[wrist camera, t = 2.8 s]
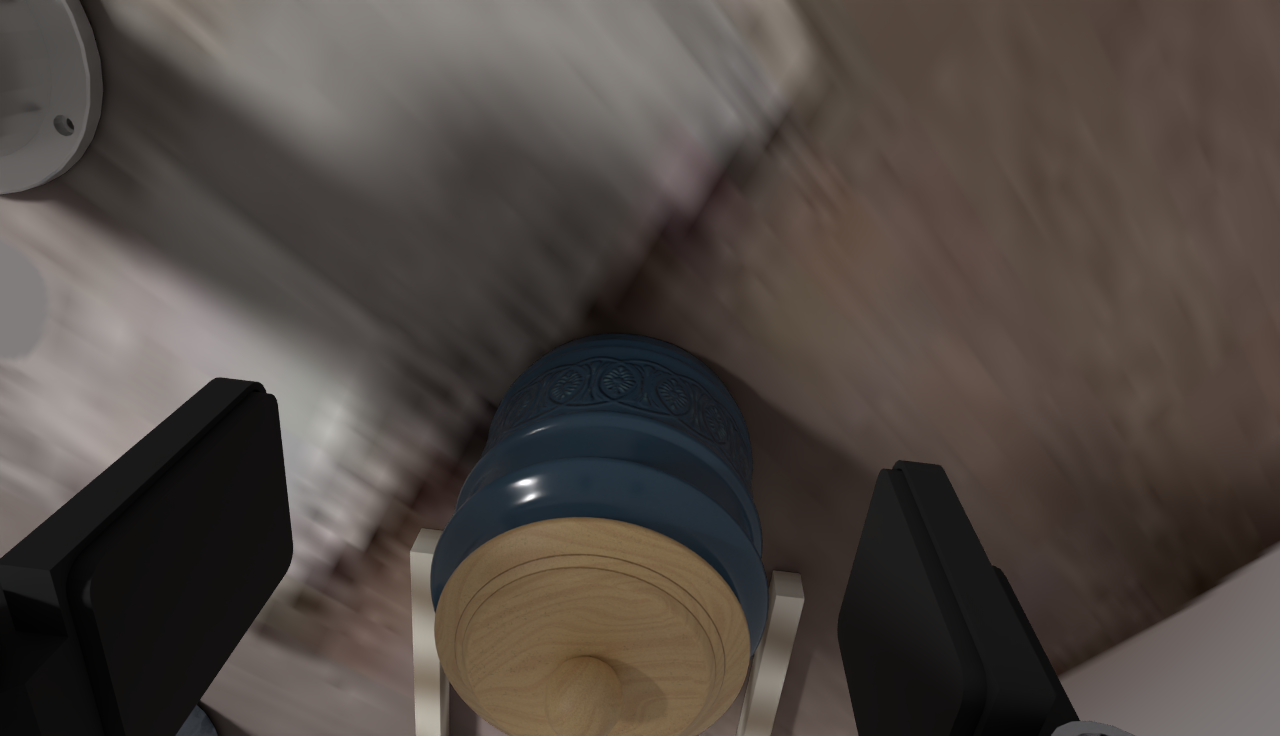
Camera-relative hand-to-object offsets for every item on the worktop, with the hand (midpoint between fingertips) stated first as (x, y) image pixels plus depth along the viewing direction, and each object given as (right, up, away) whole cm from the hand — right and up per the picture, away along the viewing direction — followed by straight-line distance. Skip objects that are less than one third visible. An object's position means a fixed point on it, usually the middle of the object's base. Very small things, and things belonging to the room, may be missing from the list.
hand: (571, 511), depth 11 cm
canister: (0, -2, +30) cm, 30 cm away
